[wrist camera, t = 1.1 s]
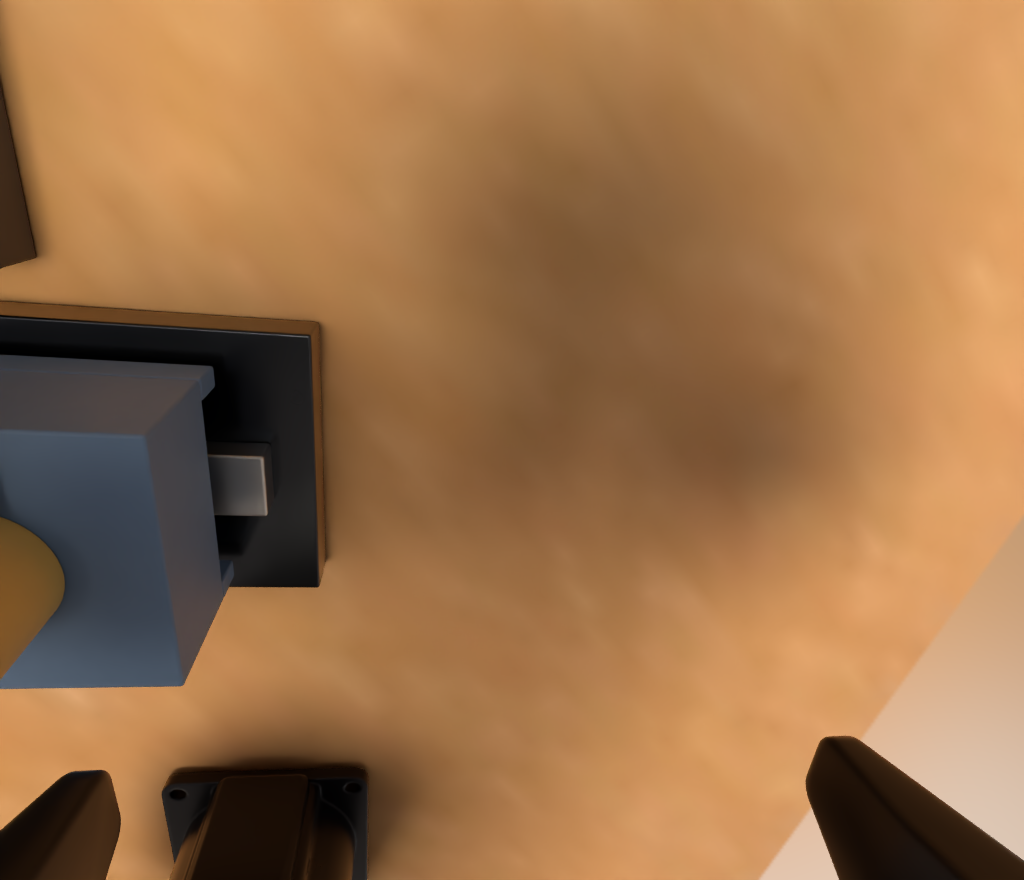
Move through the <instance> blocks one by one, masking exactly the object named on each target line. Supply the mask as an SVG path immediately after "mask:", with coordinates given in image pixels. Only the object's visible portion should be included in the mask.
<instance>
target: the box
mask: <svg viewBox="0 0 1024 880" xmlns="http://www.w3.org/2000/svg"><path fill="white" fill-rule="evenodd" d="M34 258H35V251H34V246H33V241H32V236H31V231H30V226H29V222H28V217H27V212H26V207H25V202H24V197H23V193H22V188H21V183H20V178H19V173H18V168H17V163H16V159H15V154H14V149H13V144H12V139H11V134H10V129H9V125H8V120H7V115H6V110H5V105H4V100H3V95H2V91H1V86H0V268H3V267H6V266H9V265H13V264H16V263H20V262H23V261H27V260H30V259H34Z"/></svg>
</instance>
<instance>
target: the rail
mask: <svg viewBox="0 0 1024 880" xmlns="http://www.w3.org/2000/svg"><path fill="white" fill-rule="evenodd" d="M0 355H16V356H34V357H52V358H71V359H89V360H107V361H126V362H144V363H163V364H181V365H199V366H211V367H213V371H214V381H215V386H214V388H213V389H212V390H211V391H210V392H209V394H208V395H207V396H206V397H205V398H204V399H203V400H201V402H202V411H203V420H204V428H205V437H206V446H207V455H208V464H209V473H210V482H211V491H212V500H213V509H214V518H215V527H216V536H217V545H218V554H219V560H231V561H232V562H233V569H234V576H233V579H232V581H231V583H230V585H229V587H319V586H320V582H321V578H322V574H323V570H324V566H325V562H326V553H325V517H324V482H323V446H322V411H321V375H320V339H319V323H317V322H309V321H294V320H279V319H263V318H248V317H233V316H217V315H202V314H187V313H172V312H156V311H141V310H126V309H111V308H95V307H80V306H65V305H50V304H34V303H19V302H4V301H0Z"/></svg>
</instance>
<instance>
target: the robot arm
mask: <svg viewBox="0 0 1024 880" xmlns="http://www.w3.org/2000/svg"><path fill="white" fill-rule="evenodd" d="M806 791H807V796H808V799H809V802H810V804H811V807H812V809H813V812H814V815H815V817H816V820H817V822H818V825H819V828H820V830H821V833H822V836H823V838H824V841H825V843H826V846H827V849H828V851H829V854H830V857H831V859H832V862H833V864H834V867H835V870H836V872H837V875H838V878H839V880H1024V860H1022V859H1021V858H1020V857H1018V856H1017V855H1015V854H1014V853H1013V852H1011V851H1010V850H1009V849H1007V848H1006V847H1005V846H1003V845H1002V844H1000V843H999V842H998V841H996V840H995V839H994V838H992V837H991V836H990V835H988V834H987V833H985V832H984V831H983V830H981V829H980V828H979V827H977V826H976V825H974V824H973V823H972V822H970V821H969V820H968V819H966V818H965V817H964V816H962V815H961V814H960V813H958V812H957V811H955V810H954V809H953V808H951V807H950V806H949V805H947V804H946V803H945V802H943V801H942V800H940V799H939V798H938V797H936V796H935V795H934V794H932V793H931V792H930V791H928V790H927V789H925V788H924V787H923V786H921V785H920V784H919V783H917V782H916V781H914V780H913V779H912V778H910V777H909V776H908V775H906V774H905V773H904V772H902V771H901V770H900V769H898V768H897V767H895V766H894V765H893V764H891V763H890V762H889V761H887V760H886V759H885V758H883V757H881V756H880V755H879V754H878V753H876V752H875V751H874V750H872V749H871V748H870V747H868V746H867V745H865V744H864V743H863V742H861V741H860V740H858V739H856V738H854V737H851V736H832V737H825V738H823V739H822V740H821V741H820V743H819V745H818V747H817V750H816V752H815V755H814V758H813V760H812V763H811V765H810V768H809V771H808V773H807V776H806ZM162 800H163V805H164V810H165V815H166V821H167V826H168V831H169V836H170V841H171V847H172V852H173V857H174V862H175V865H174V868H173V871H172V874H171V876H170V879H169V880H368V808H369V776H368V773H367V772H366V771H365V770H363V769H361V768H355V767H350V768H320V769H290V770H259V771H229V772H199V773H178V774H174V775H172V776H170V777H169V778H168V779H167V781H166V783H165V786H164V788H163V791H162ZM120 825H121V817H120V812H119V808H118V803H117V799H116V795H115V791H114V787H113V783H112V779H111V777H110V774H109V773H108V772H106V771H104V770H90V771H74V772H70V773H68V774H66V775H64V776H62V777H61V778H60V779H59V780H57V781H56V782H55V783H54V784H53V785H52V786H51V787H49V788H48V789H47V790H46V791H45V792H44V793H43V794H41V795H40V796H39V797H38V798H37V799H36V800H35V801H33V802H32V803H31V804H30V805H29V806H28V807H27V808H25V809H24V810H23V811H22V812H21V813H20V814H19V815H17V816H16V817H15V818H14V819H13V820H12V821H11V822H10V823H8V824H7V825H6V826H5V827H4V828H3V829H2V830H0V880H105V879H106V876H107V873H108V869H109V866H110V863H111V860H112V857H113V854H114V850H115V847H116V844H117V841H118V837H119V832H120Z"/></svg>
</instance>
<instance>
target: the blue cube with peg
mask: <svg viewBox="0 0 1024 880" xmlns="http://www.w3.org/2000/svg"><path fill="white" fill-rule="evenodd" d="M214 386H215V381H214V371H213V367H211V366H199V365H181V364H163V363H144V362H126V361H107V360H89V359H71V358H52V357H34V356H16V355H0V689H27V688H96V687H164V686H182V685H184V683H185V681H186V679H187V676H188V674H189V672H190V670H191V668H192V665H193V663H194V661H195V659H196V657H197V655H198V652H199V650H200V648H201V646H202V644H203V641H204V639H205V637H206V635H207V633H208V630H209V628H210V626H211V624H212V622H213V620H214V617H215V615H216V613H217V611H218V609H219V606H220V604H221V602H222V600H223V597H224V596H225V594H226V592H227V590H228V587H229V585H230V583H231V581H232V579H233V576H234V569H233V562H232V561H231V560H219V554H218V545H217V536H216V527H215V518H214V509H213V500H212V491H211V482H210V473H209V464H208V455H207V446H206V437H205V428H204V420H203V411H202V402H201V400H203V399H204V398H205V397H206V396H207V395H208V394H209V392H210V391H211V390H212V389H213V388H214Z"/></svg>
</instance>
